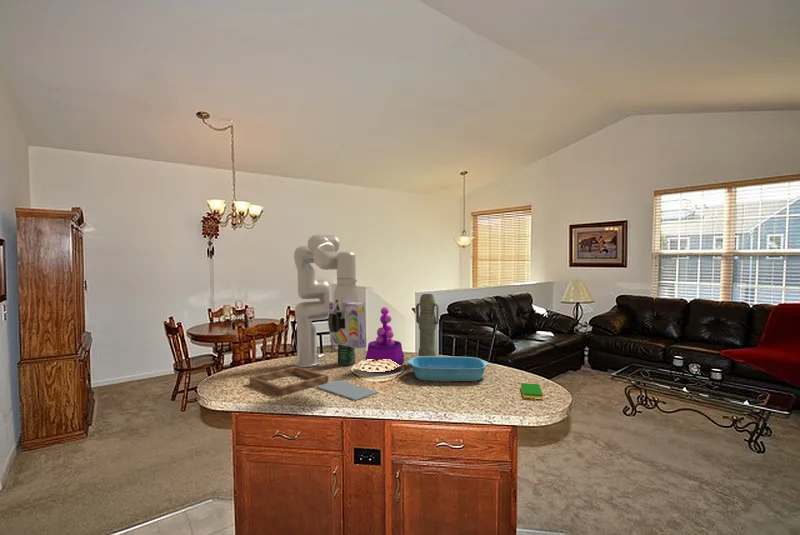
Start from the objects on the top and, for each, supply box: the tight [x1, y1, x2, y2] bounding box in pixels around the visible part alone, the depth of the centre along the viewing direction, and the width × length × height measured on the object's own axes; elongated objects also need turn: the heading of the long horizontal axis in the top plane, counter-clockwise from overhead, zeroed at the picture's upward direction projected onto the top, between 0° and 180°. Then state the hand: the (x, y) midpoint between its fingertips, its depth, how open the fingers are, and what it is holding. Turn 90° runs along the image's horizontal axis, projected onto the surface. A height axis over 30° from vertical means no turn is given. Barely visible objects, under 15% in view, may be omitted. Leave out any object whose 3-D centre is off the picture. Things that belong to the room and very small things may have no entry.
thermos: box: [415, 293, 440, 356], centre depth 217 cm, size 9×12×35 cm
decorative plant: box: [365, 306, 405, 366], centre depth 205 cm, size 19×18×30 cm
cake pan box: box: [327, 300, 367, 349], centre depth 172 cm, size 19×5×18 cm, turn 47°
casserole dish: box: [406, 355, 490, 382], centre depth 193 cm, size 37×22×7 cm, turn 89°
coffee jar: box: [337, 344, 356, 367], centre depth 215 cm, size 10×8×19 cm
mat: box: [316, 379, 379, 402], centre depth 173 cm, size 12×24×1 cm, turn 48°
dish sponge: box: [520, 382, 544, 400], centre depth 169 cm, size 7×14×2 cm, turn 169°
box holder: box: [249, 365, 329, 397], centre depth 183 cm, size 24×24×3 cm
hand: (346, 327), depth 172 cm, fingers closed on cake pan box, 4 cm apart
